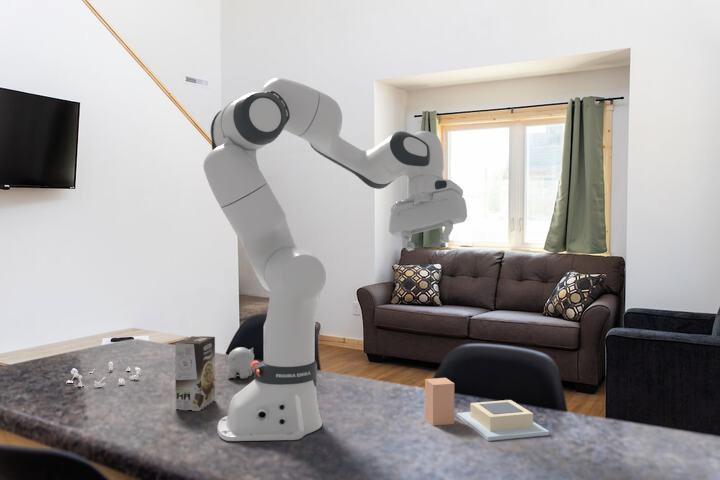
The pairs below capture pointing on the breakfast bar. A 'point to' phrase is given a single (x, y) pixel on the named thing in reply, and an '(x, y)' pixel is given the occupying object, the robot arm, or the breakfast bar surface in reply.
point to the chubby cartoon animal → (240, 362)
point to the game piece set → (74, 371)
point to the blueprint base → (504, 432)
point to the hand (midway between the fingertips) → (426, 246)
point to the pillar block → (439, 401)
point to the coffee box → (195, 372)
